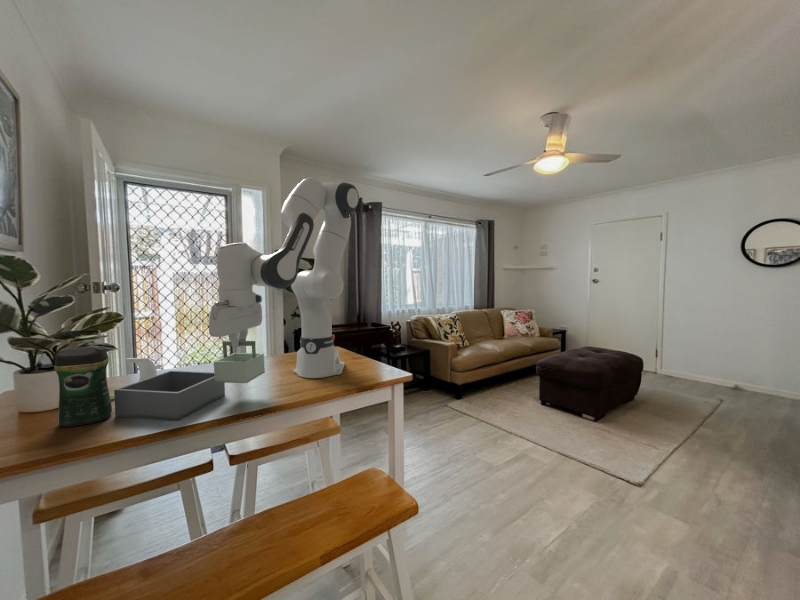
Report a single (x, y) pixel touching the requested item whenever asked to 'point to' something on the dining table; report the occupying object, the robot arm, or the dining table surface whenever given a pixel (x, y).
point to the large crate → (168, 395)
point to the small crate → (239, 365)
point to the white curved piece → (144, 367)
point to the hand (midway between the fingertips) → (239, 346)
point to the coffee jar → (82, 385)
